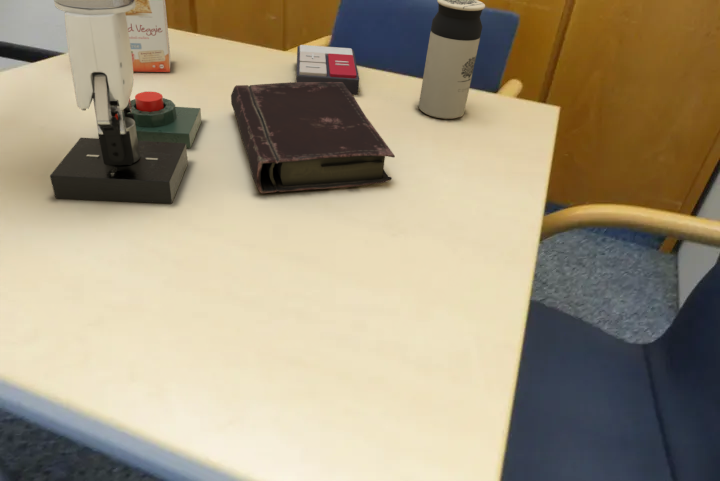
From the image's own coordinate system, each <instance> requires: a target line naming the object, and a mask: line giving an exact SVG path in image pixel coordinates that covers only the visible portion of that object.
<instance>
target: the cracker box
mask: <svg viewBox="0 0 720 481" xmlns="http://www.w3.org/2000/svg"><path fill="white" fill-rule="evenodd" d="M166 5H167V4H166V0H135V8H134V9H133V10H130V11H128V12H125V14H126V20H127V27H128V33H129V40H130V47H131V54H132V63H133V72H141V73H143V72H144V73H147V72H149V73H150V72H152V73H171V62H172V59H171V46H170V37H169V26H168V17H167V6H166Z"/></svg>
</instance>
